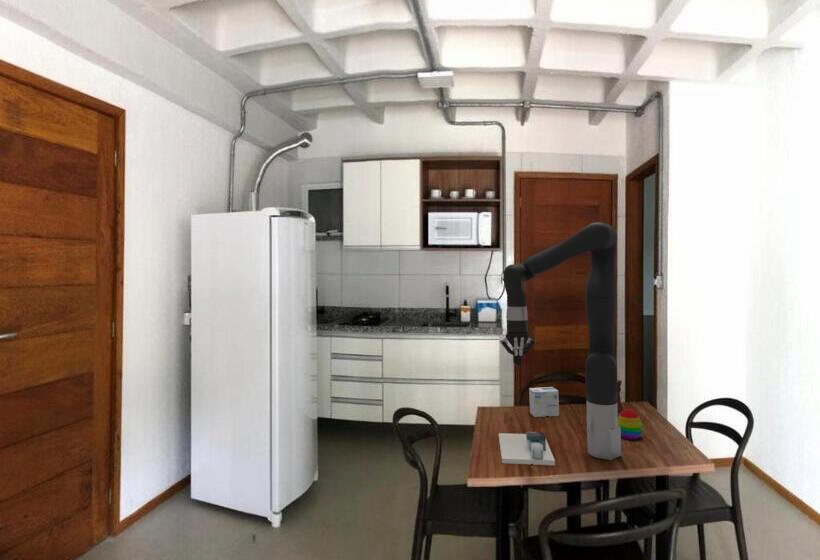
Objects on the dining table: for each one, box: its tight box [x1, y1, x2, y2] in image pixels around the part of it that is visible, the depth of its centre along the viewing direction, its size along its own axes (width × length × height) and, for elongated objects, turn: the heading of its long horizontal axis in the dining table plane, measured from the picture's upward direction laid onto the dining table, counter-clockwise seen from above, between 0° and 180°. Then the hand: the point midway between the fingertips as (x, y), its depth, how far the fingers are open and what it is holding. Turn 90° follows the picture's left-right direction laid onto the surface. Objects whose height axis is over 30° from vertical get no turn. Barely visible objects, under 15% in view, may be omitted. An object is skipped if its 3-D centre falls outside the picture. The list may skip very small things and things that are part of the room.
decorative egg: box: [618, 408, 643, 441], centre depth 156 cm, size 8×8×10 cm
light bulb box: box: [528, 386, 560, 418], centre depth 183 cm, size 11×7×11 cm, turn 94°
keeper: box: [525, 431, 547, 451], centre depth 144 cm, size 3×6×5 cm, turn 81°
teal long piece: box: [528, 431, 543, 459], centre depth 144 cm, size 16×4×4 cm, turn 171°
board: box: [498, 432, 556, 466], centre depth 147 cm, size 22×16×2 cm
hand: (517, 365), depth 161 cm, fingers closed
